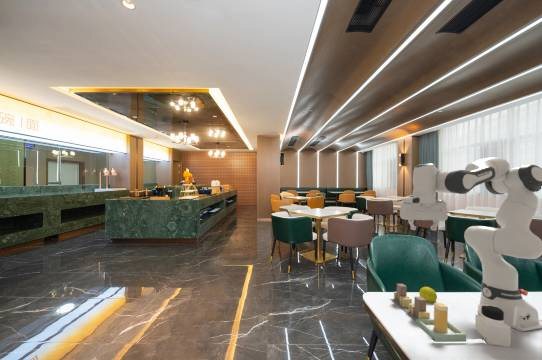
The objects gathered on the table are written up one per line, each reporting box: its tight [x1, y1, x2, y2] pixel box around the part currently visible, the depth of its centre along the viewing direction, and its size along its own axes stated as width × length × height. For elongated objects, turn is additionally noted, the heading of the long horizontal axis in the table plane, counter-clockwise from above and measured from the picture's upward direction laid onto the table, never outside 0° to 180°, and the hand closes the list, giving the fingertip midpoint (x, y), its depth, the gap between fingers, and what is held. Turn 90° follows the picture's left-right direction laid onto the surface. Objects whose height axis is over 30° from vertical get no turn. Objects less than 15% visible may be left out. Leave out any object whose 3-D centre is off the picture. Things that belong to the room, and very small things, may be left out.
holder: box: [389, 283, 432, 323], centre depth 105 cm, size 19×8×9 cm, turn 3°
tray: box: [415, 318, 467, 343], centre depth 90 cm, size 12×10×3 cm
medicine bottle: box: [474, 305, 512, 348], centre depth 87 cm, size 7×7×12 cm
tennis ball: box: [418, 286, 438, 303], centre depth 115 cm, size 7×7×7 cm
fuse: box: [433, 302, 449, 333], centre depth 90 cm, size 3×3×10 cm
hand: (423, 230), depth 105 cm, fingers open, 8 cm apart
